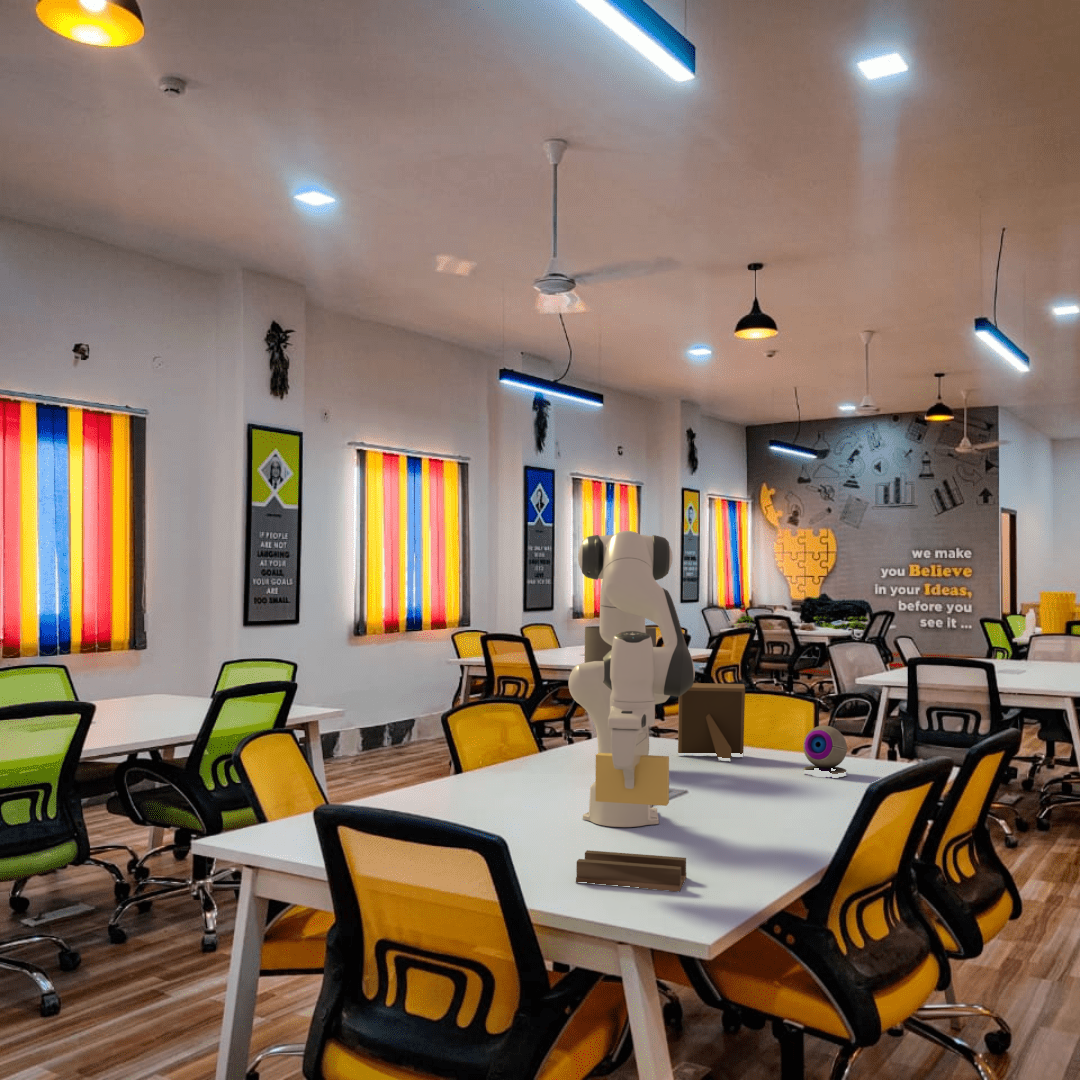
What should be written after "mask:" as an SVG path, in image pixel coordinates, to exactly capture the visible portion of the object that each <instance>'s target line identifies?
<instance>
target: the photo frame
mask: <svg viewBox="0 0 1080 1080" xmlns="http://www.w3.org/2000/svg"><path fill="white" fill-rule="evenodd" d="M745 697H746V687H745V683H712V682H710V683H708V682H707V683H706V682H704V683H701V682H697V683H696V682H693V686H692V687H691V688H690V689H689V690H688V691H686V692H685V693H684V694H682V695H681V696H678V714H677V715H678V720H677V722H678V725H677V726H678V728H677V729H678V730H677V731H678V732H677V734H678V735H677V754H678V753H716V754H717V757H722V758H731V753H740V754H742V753H743V754H744V748H745V747H744V744H745V743H744V742H745V710H746V709H745V707H746V706H745V705H746V698H745ZM717 757H716V758H717ZM731 759H732V758H731Z"/></svg>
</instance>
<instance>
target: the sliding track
mask: <svg viewBox="0 0 1080 1080" xmlns="http://www.w3.org/2000/svg"><path fill="white" fill-rule="evenodd" d="M685 879H687V857H683V856H681V857H679V856H666V855H665V856H664V855H656V854H655V855H652V854H641V853H630V852H628V853H627V852H626V853H625V852H613V851H599V850H588V849H587V850H586V851H585V852H584V859H583V858H578V859H577V860H576V876H575V883H576V882H587V883H595V884H606V885H618V886H630V887H639V888H638V889H640V888H648V889H647V890H652V889H657V890H656V891H664V890H669V891H668V892H676V891H680V892H681V890H682V888H683V886H684V884H685V882H686V880H685ZM684 881H685V882H684ZM683 883H684V884H683ZM682 885H683V886H682ZM681 887H682V888H681ZM680 889H681V890H680Z"/></svg>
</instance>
